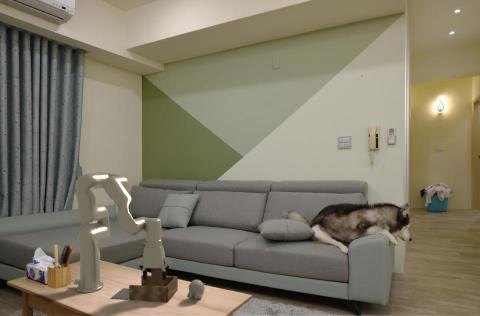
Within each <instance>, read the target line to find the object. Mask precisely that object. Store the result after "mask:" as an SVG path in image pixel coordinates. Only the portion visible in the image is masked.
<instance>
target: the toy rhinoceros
mask: <svg viewBox="0 0 480 316" xmlns="http://www.w3.org/2000/svg"><path fill="white" fill-rule="evenodd" d="M205 286H206V283H205V282H202V281H201V280H200V279H194V280H192V281H191V282H190V284H189V285H188V293H187V295H186V298H187V299H195V300H202V298H203V297H202V295H203V294H204V291H205V289H206V288H205Z"/></svg>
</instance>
